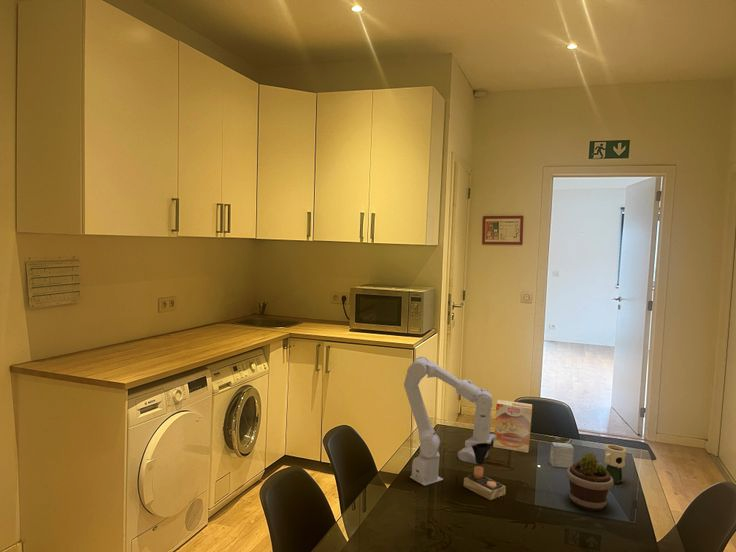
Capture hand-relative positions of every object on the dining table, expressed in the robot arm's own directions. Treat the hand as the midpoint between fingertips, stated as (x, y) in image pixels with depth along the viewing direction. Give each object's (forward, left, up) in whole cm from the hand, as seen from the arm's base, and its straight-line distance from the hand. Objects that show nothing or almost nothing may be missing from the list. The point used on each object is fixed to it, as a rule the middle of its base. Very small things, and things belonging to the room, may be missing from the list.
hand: (479, 463), depth 187 cm
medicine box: (+46, -4, -9) cm, 47 cm away
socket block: (0, -3, -9) cm, 9 cm away
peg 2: (0, -6, -8) cm, 10 cm away
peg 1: (0, 0, -5) cm, 5 cm away
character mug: (+51, -23, -9) cm, 57 cm away
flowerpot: (+24, -28, -9) cm, 38 cm away
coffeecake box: (+44, +19, -9) cm, 49 cm away
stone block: (+19, +20, -9) cm, 29 cm away
